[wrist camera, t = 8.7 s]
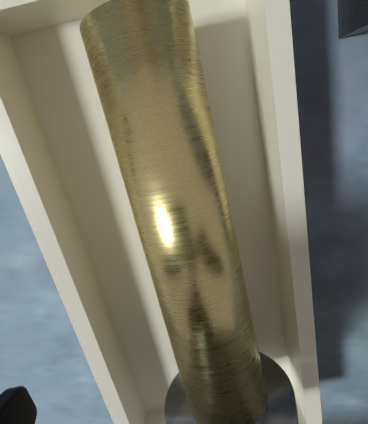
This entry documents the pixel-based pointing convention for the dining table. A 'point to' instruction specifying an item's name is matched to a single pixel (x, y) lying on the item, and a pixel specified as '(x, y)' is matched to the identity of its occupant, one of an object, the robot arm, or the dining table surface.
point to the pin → (182, 211)
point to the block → (352, 17)
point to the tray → (120, 206)
